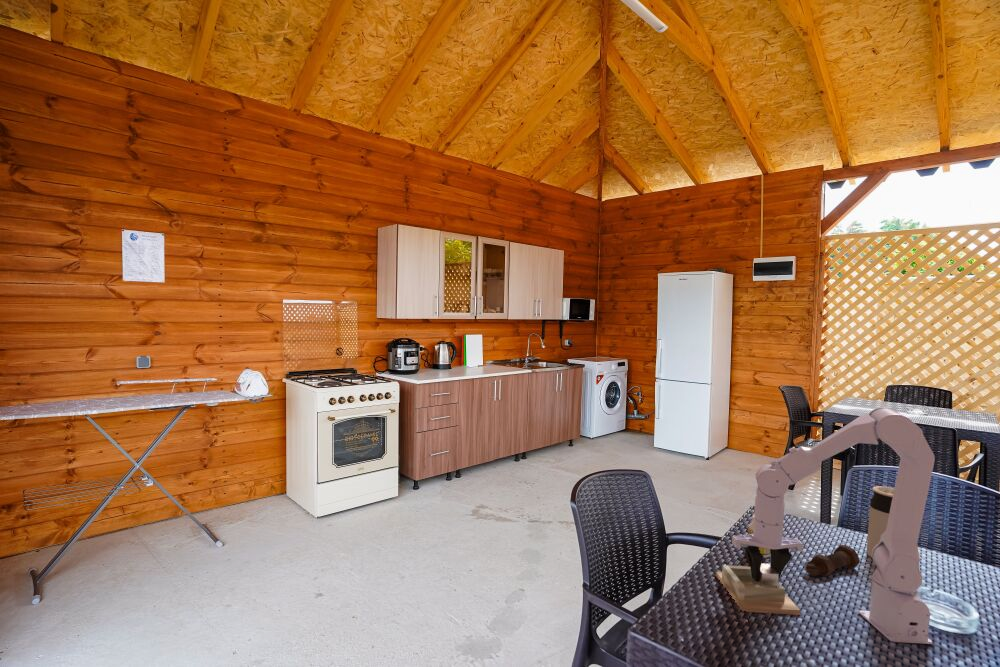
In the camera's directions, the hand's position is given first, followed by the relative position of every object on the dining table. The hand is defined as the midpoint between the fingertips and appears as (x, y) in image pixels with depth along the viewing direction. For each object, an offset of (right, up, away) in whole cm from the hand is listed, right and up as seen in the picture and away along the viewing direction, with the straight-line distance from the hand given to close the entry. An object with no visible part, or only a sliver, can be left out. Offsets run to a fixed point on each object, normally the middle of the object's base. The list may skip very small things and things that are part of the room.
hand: (764, 579), depth 112 cm
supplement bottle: (+9, -3, +20) cm, 22 cm away
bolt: (+22, -4, +12) cm, 26 cm away
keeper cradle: (-2, -3, 0) cm, 4 cm away
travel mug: (+42, -4, +19) cm, 46 cm away
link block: (0, -2, 0) cm, 2 cm away
